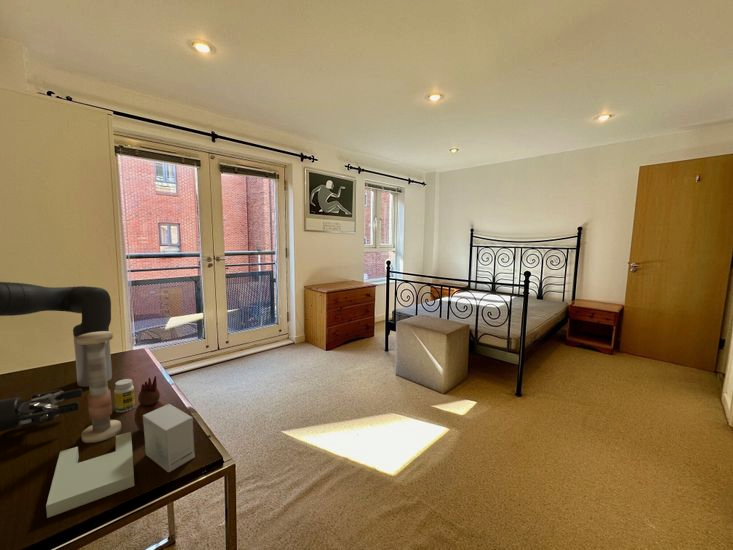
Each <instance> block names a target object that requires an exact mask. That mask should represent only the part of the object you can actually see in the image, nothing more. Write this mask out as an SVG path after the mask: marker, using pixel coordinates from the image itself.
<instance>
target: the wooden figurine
mask: <svg viewBox="0 0 733 550" xmlns="http://www.w3.org/2000/svg"><path fill="white" fill-rule="evenodd" d="M157 383H158V382H157V376H156V375H155V376H154V377H153V381H152V380H151V377H148V381H144V383H143V384H141V388H140V392H139V393H138V397H137V398H138V399H137V400H138V403H139V405H137V407H136V409H135V412H134V422H135V425H136V428H138V429H139V431H140V432H142V433H144V424H143V415H145V414H147V413H149V412H151V411H154V410H156V409H158V408H161V407H163V406H165V405H164V404H163V403H162V402H161V401H160V397H161V394H160V391H159V389H158V386H157V385H158V384H157Z"/></svg>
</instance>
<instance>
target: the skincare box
mask: <svg viewBox="0 0 733 550" xmlns="http://www.w3.org/2000/svg"><path fill="white" fill-rule="evenodd" d="M143 424H144V432H143V433H144V448H145V455H146V456H147V457H148V458H150V459H151V460H152V461H154V463H156V464H157V465H158V466H159V467H161V468H162V469H163V470H165V471H166V473H170V472H172V471H174V470H175V469H177V468H179V467H181V466H182V465H184V464H186V463H188V462H189V461H191V460H192V459H194V458H195V457H196V455H195V441H194V439H195V438H194V419H193V416H191V415H189V414H187V413H186V412H184V411H183V410H181V409H179V408H178V407H175V406H174V405H172V404H170V403H167V404H166V405H164V406H163V407H161V408H158V409H156V410H154V411H151V412H149V413H147V414H145V415H143Z"/></svg>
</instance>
